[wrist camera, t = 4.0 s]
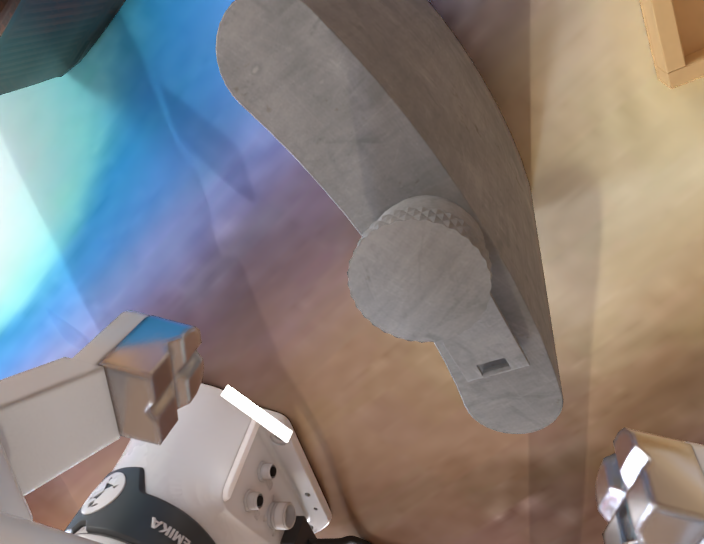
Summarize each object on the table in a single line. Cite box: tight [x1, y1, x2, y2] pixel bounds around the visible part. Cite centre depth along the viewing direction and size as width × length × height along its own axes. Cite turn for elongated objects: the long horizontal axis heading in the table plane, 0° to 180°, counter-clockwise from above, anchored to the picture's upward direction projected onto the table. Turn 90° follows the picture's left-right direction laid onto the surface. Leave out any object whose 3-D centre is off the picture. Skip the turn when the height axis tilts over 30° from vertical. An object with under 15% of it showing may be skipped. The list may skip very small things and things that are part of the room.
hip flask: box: [216, 0, 563, 434], centre depth 21 cm, size 16×4×20 cm, turn 36°
